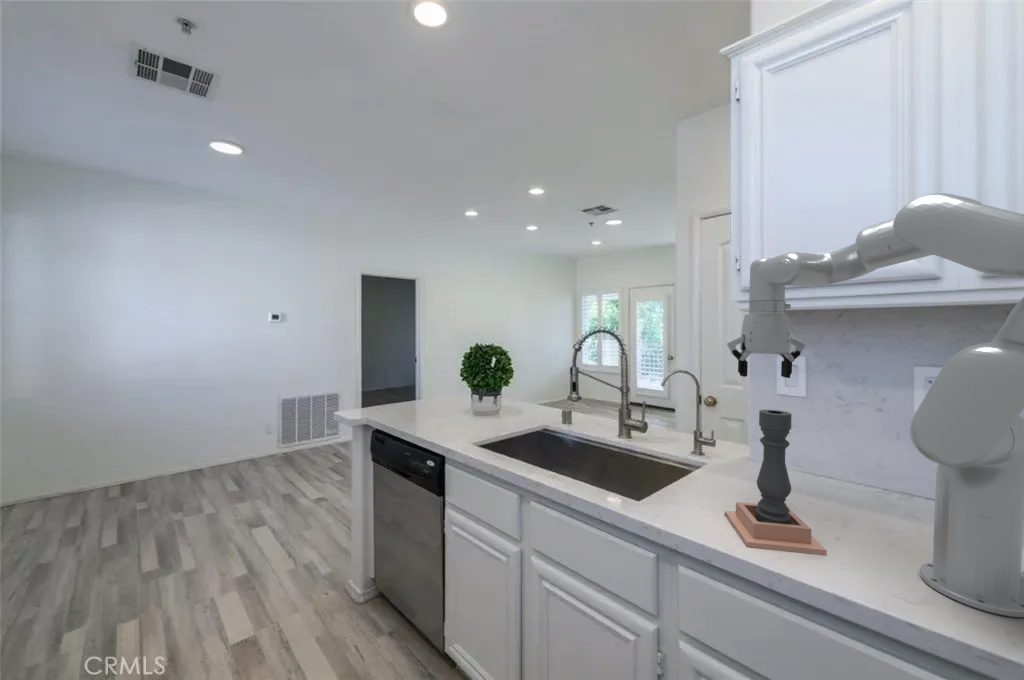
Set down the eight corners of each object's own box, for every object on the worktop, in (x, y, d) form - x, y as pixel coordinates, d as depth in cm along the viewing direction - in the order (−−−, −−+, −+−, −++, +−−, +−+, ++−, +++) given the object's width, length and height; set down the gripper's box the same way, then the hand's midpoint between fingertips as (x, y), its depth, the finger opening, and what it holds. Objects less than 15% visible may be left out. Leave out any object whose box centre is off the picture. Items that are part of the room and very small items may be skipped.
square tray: (791, 520, 91) (791, 503, 90) (826, 555, 77) (827, 534, 77) (724, 514, 93) (724, 498, 93) (746, 546, 80) (747, 527, 80)
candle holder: (796, 538, 81) (799, 416, 80) (762, 534, 82) (765, 414, 82) (782, 523, 87) (784, 410, 87) (751, 520, 88) (753, 408, 88)
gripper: (797, 309, 102) (795, 375, 102) (723, 309, 105) (722, 373, 106) (813, 308, 94) (810, 379, 95) (734, 308, 98) (732, 377, 98)
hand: (764, 376), depth 100 cm, fingers open, 9 cm apart
